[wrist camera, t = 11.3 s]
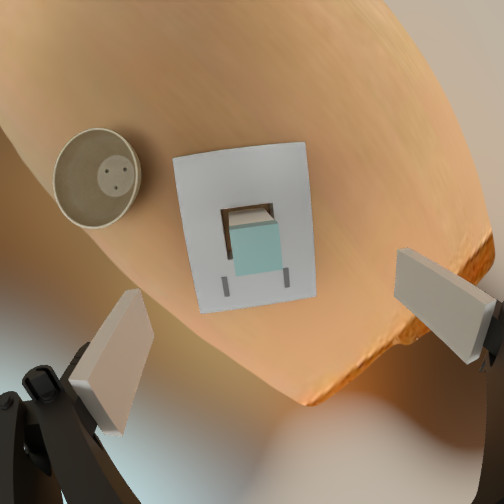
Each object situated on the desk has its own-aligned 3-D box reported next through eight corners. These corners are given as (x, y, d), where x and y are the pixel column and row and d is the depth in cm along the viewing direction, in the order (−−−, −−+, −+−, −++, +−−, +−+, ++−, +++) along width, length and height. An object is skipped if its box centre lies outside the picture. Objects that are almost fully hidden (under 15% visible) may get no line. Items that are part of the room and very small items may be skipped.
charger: (228, 211, 33) (229, 230, 23) (263, 206, 33) (278, 223, 23) (232, 245, 34) (235, 276, 24) (266, 240, 34) (282, 269, 25)
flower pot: (173, 176, 31) (158, 179, 24) (116, 232, 32) (92, 249, 25) (122, 117, 28) (97, 107, 21) (69, 176, 29) (38, 180, 23)
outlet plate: (177, 158, 30) (171, 158, 27) (298, 143, 31) (305, 141, 28) (202, 302, 36) (200, 314, 33) (309, 286, 36) (316, 297, 33)
